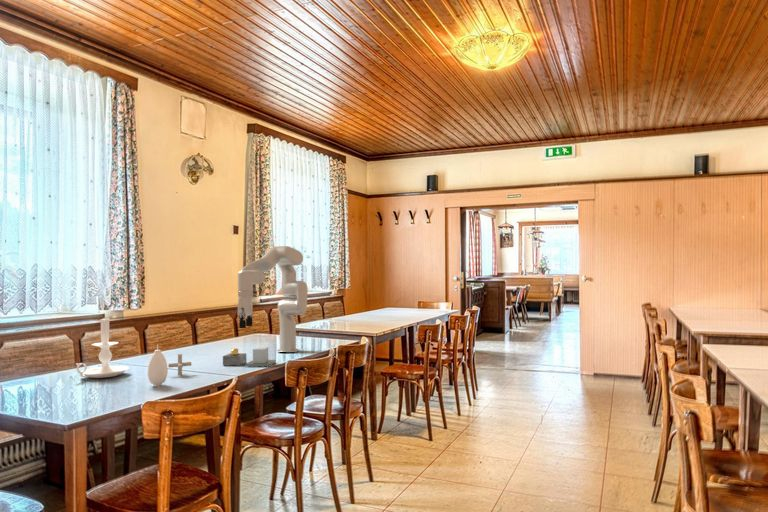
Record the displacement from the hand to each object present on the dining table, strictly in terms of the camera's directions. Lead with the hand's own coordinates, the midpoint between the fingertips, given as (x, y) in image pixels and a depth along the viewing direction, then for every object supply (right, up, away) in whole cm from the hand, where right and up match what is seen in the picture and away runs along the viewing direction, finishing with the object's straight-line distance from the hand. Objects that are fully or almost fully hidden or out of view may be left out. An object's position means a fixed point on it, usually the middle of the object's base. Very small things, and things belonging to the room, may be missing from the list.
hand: (246, 327), depth 271 cm
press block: (-6, -20, +1) cm, 21 cm away
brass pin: (-6, -16, +1) cm, 17 cm away
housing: (+8, -18, -2) cm, 20 cm away
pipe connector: (-24, -19, -26) cm, 41 cm away
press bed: (+8, -19, -2) cm, 21 cm away
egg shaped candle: (-25, -19, -48) cm, 58 cm away
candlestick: (-61, -20, -27) cm, 70 cm away
